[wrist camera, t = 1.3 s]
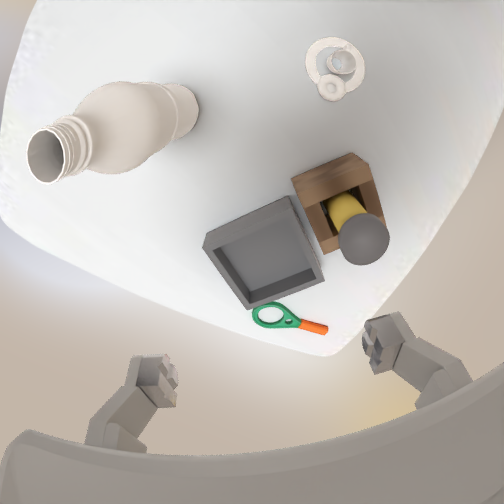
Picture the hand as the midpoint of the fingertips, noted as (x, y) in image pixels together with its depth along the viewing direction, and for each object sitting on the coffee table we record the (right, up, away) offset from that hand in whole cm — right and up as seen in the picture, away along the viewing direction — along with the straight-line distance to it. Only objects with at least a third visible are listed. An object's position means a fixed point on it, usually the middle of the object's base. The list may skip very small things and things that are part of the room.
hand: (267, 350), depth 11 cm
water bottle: (-10, +22, +21) cm, 32 cm away
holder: (+11, +12, +27) cm, 31 cm away
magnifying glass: (+7, -8, +40) cm, 42 cm away
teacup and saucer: (+7, +27, +18) cm, 33 cm away
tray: (+1, +4, +32) cm, 32 cm away
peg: (+11, +12, +27) cm, 31 cm away
